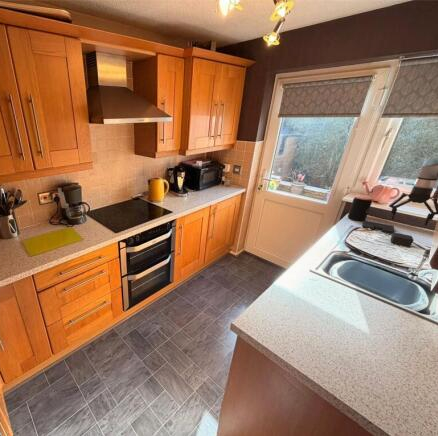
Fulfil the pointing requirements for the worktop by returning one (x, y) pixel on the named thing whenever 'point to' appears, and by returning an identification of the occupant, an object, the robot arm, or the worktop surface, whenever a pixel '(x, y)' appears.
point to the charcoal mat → (378, 226)
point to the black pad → (401, 239)
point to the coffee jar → (360, 207)
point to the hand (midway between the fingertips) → (407, 221)
